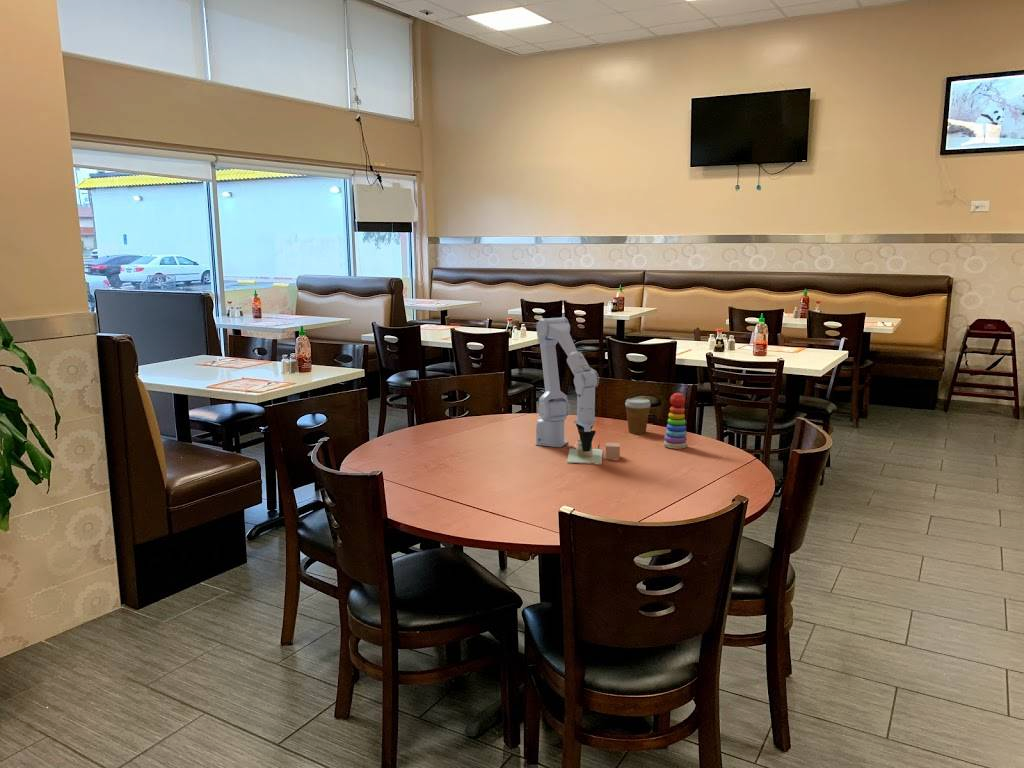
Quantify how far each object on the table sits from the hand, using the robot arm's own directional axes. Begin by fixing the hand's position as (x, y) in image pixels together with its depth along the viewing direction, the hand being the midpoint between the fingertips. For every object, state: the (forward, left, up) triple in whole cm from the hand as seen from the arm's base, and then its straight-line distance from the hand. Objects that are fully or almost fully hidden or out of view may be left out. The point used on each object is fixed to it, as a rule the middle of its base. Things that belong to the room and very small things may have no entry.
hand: (585, 448), depth 249 cm
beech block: (0, 0, -2) cm, 2 cm away
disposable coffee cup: (+8, +40, -3) cm, 41 cm away
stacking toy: (+25, +24, -3) cm, 35 cm away
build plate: (0, 0, -3) cm, 3 cm away
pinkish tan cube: (+8, +2, -3) cm, 9 cm away
